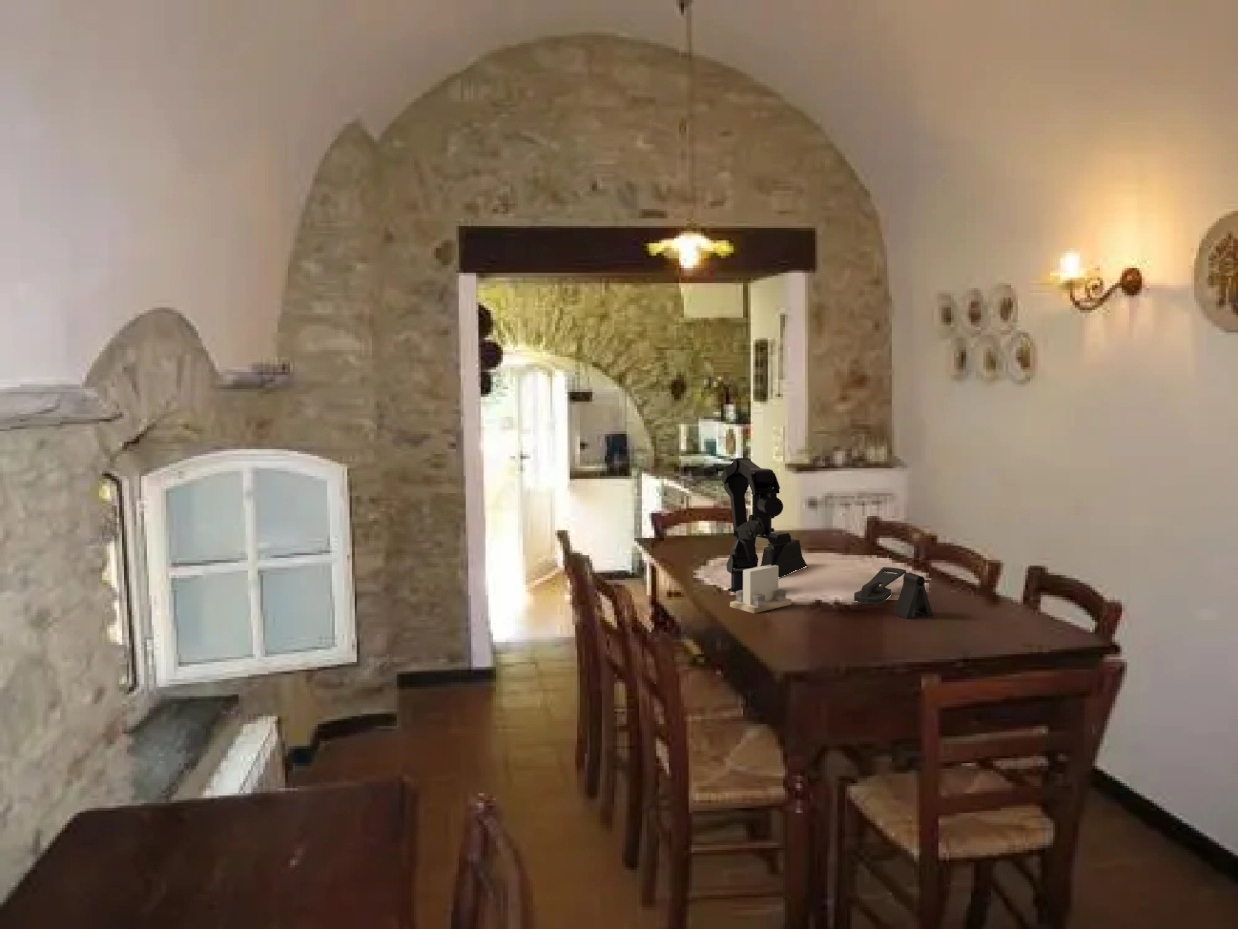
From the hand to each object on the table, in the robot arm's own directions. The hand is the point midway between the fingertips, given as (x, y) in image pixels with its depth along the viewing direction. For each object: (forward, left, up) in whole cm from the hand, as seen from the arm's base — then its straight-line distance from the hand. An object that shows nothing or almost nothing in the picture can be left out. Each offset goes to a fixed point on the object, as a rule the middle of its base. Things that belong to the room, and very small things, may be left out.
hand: (761, 563), depth 293 cm
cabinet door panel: (0, 0, -11) cm, 11 cm away
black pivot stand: (+36, +25, -13) cm, 46 cm away
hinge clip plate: (0, 0, -13) cm, 13 cm away
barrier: (-28, +39, -13) cm, 50 cm away
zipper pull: (+15, +37, -13) cm, 42 cm away
